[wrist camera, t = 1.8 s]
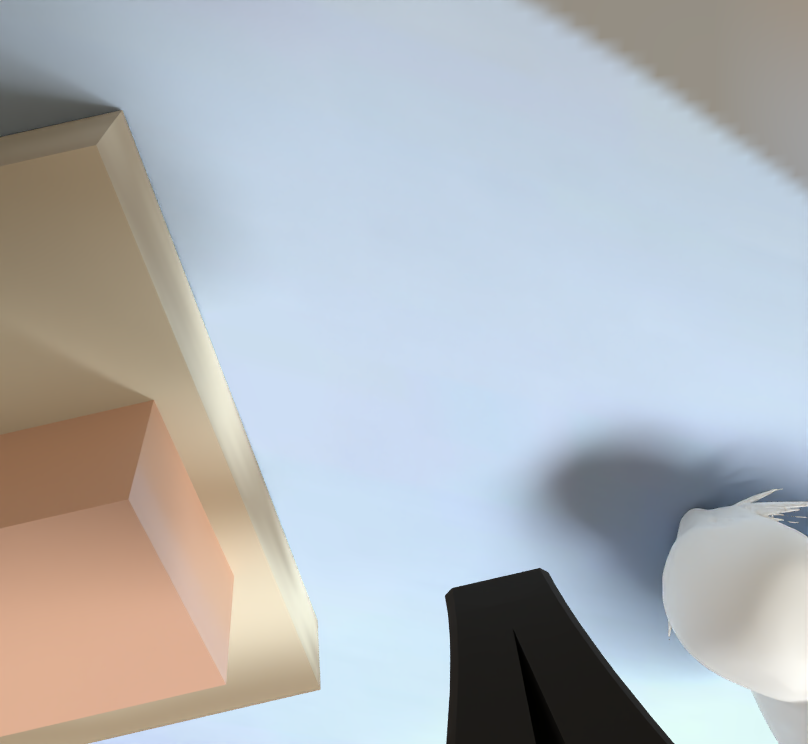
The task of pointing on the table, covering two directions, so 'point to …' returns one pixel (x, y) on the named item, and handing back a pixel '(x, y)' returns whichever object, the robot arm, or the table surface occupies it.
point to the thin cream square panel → (138, 389)
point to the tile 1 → (104, 571)
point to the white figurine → (745, 604)
